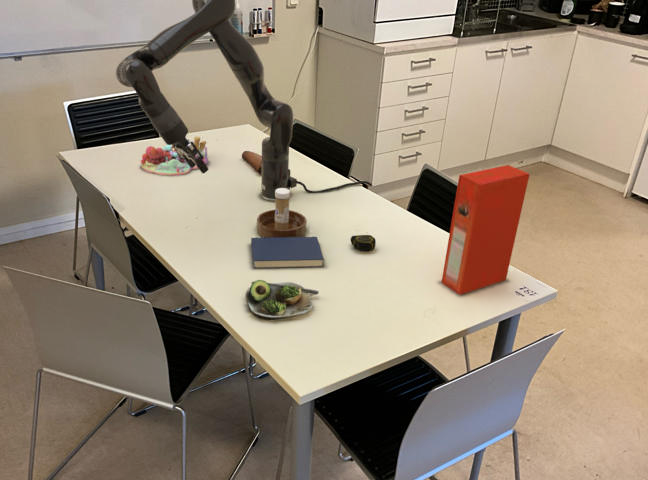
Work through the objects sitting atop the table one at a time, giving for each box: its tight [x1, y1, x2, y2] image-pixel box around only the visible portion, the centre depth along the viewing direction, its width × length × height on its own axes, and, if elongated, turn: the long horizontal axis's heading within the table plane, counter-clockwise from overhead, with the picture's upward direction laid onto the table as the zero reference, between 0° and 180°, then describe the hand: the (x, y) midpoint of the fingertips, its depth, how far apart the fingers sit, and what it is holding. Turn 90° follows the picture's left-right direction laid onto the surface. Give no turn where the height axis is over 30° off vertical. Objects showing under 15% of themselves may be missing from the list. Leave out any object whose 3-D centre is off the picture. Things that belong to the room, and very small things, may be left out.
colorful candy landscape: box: [140, 136, 209, 177], centre depth 254 cm, size 25×24×9 cm
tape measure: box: [350, 234, 377, 253], centre depth 201 cm, size 7×7×4 cm
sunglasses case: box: [241, 150, 262, 176], centre depth 256 cm, size 18×7×7 cm
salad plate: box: [245, 279, 320, 321], centre depth 174 cm, size 19×18×5 cm
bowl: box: [256, 209, 308, 238], centre depth 209 cm, size 15×15×4 cm
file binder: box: [441, 164, 530, 296], centre depth 180 cm, size 8×17×32 cm, turn 121°
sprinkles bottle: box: [274, 188, 291, 230], centre depth 207 cm, size 5×5×13 cm
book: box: [250, 236, 324, 269], centre depth 196 cm, size 14×20×3 cm
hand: (199, 168), depth 197 cm, fingers open, 8 cm apart
